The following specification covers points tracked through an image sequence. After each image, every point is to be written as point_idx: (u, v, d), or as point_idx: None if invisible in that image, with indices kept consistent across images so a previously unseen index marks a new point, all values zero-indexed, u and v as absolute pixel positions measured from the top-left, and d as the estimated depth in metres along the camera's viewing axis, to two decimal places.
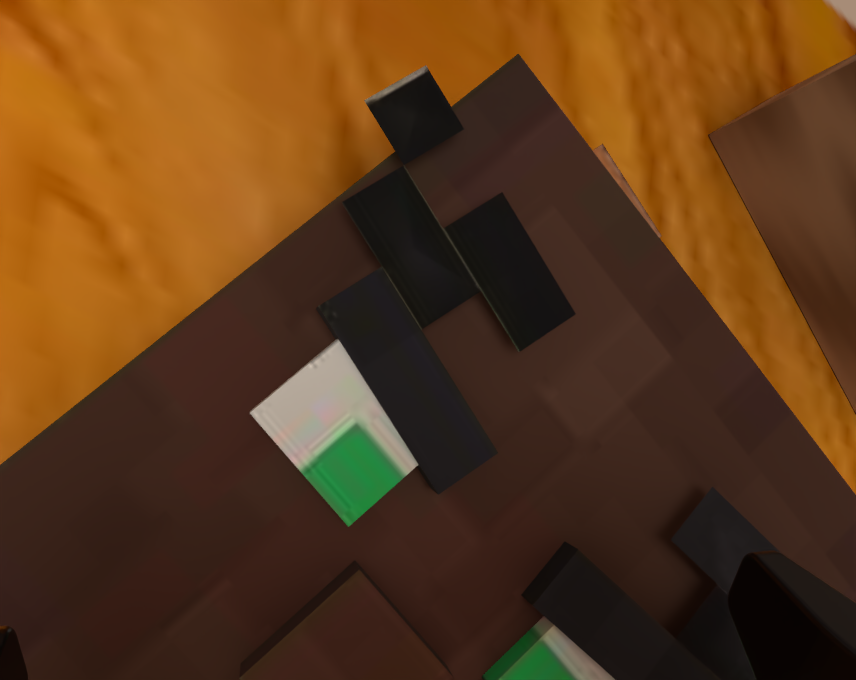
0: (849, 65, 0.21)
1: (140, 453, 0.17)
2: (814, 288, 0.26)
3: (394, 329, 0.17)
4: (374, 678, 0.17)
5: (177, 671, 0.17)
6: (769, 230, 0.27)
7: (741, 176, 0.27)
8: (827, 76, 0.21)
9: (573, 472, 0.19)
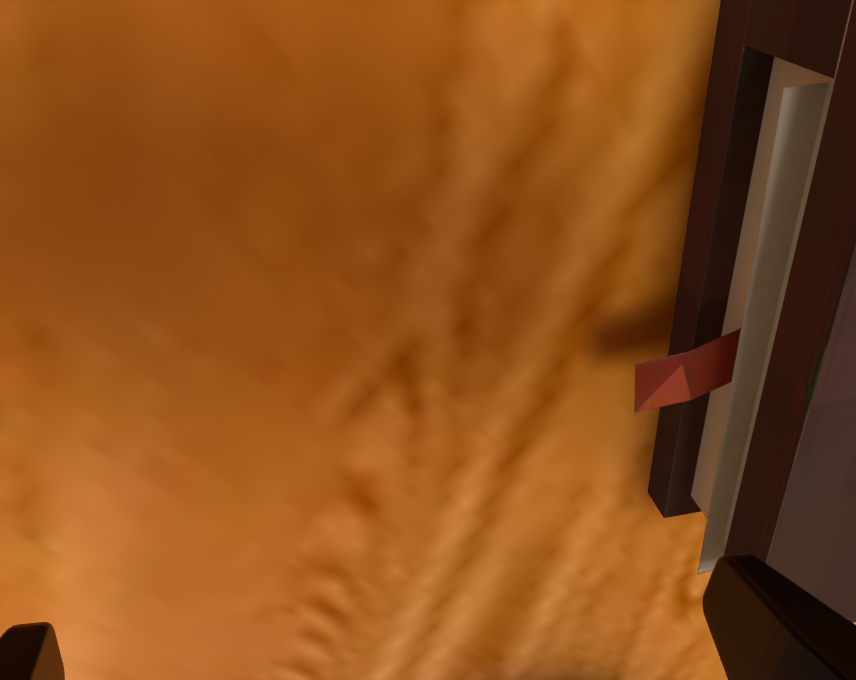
0: None
1: None
2: None
3: None
4: None
5: None
6: None
7: None
8: None
9: None
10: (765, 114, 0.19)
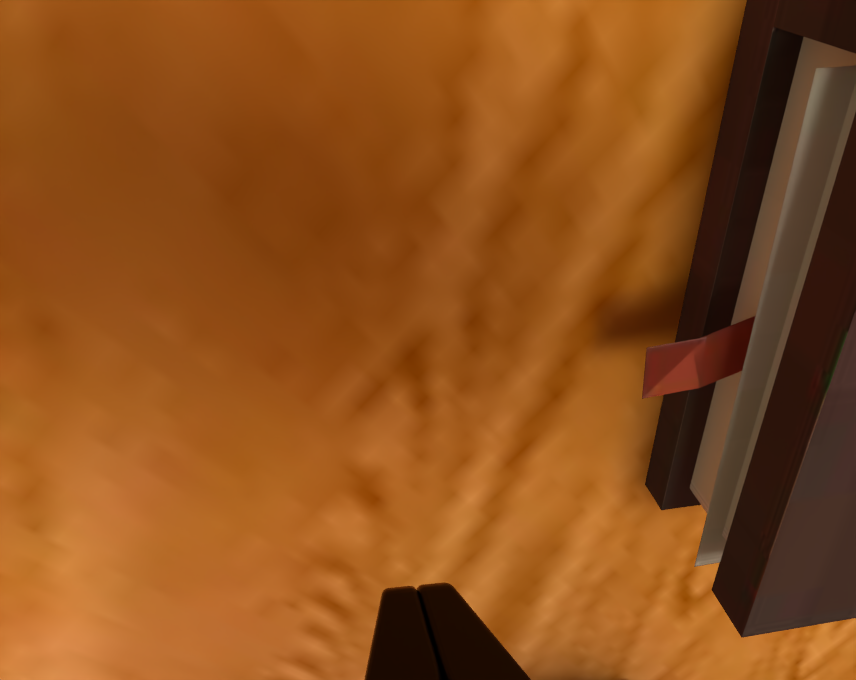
0: None
1: None
2: None
3: None
4: None
5: None
6: None
7: None
8: None
9: None
10: (789, 100, 0.19)
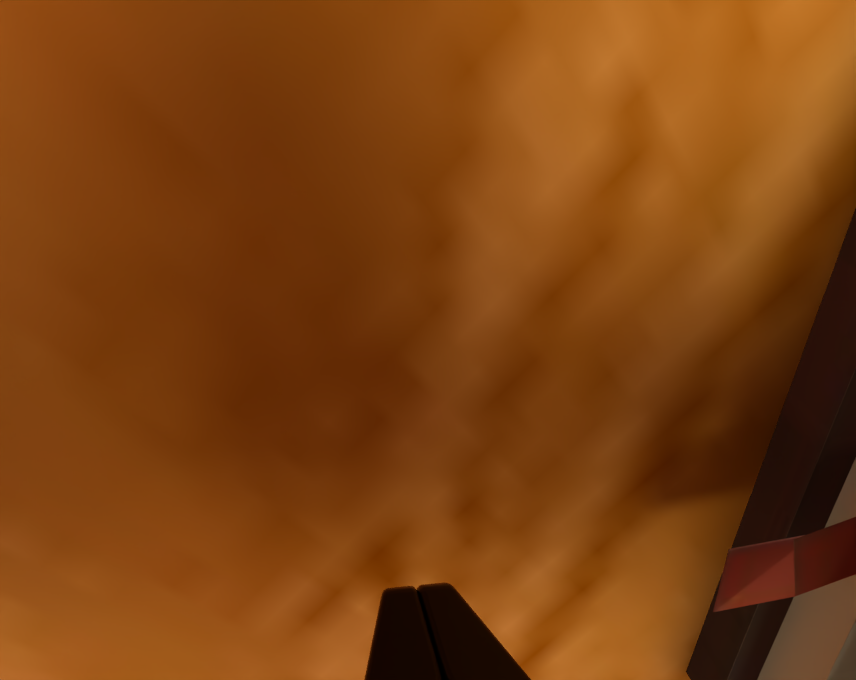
0: None
1: None
2: None
3: None
4: None
5: None
6: None
7: None
8: None
9: None
10: None
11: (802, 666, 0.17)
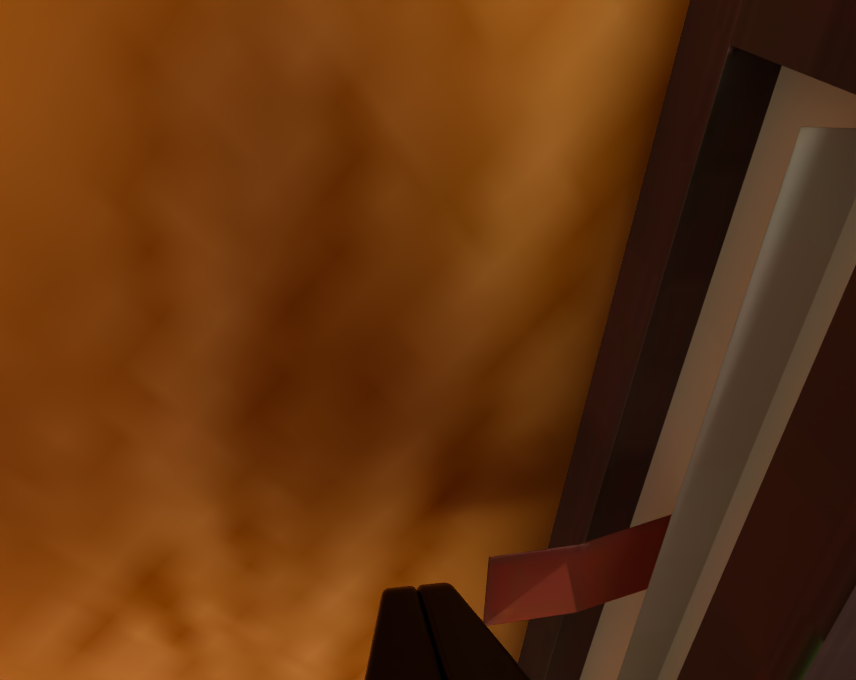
0: None
1: None
2: None
3: None
4: None
5: None
6: None
7: None
8: None
9: None
10: (748, 174, 0.11)
11: None
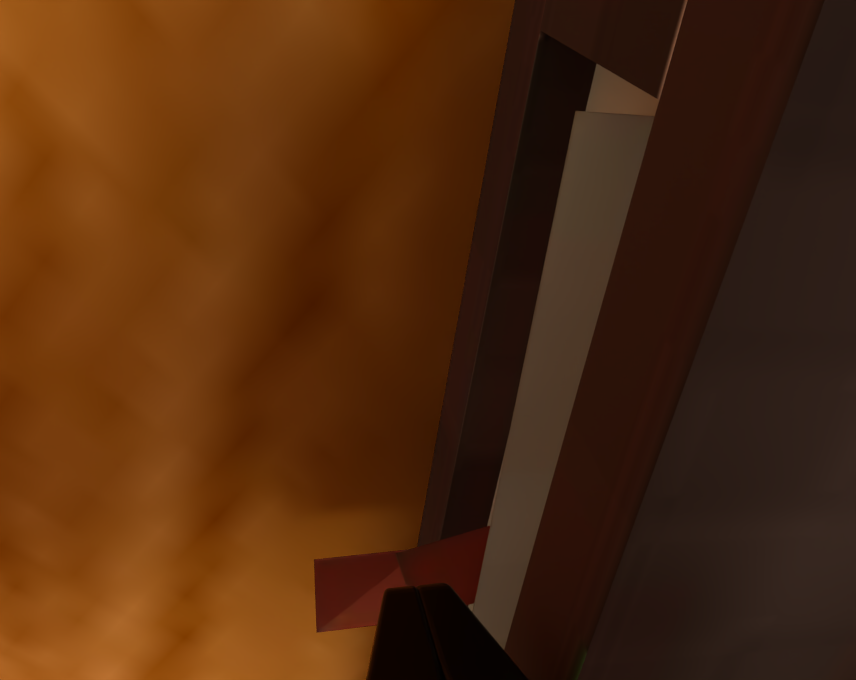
0: None
1: None
2: None
3: None
4: None
5: None
6: None
7: None
8: None
9: None
10: None
11: None
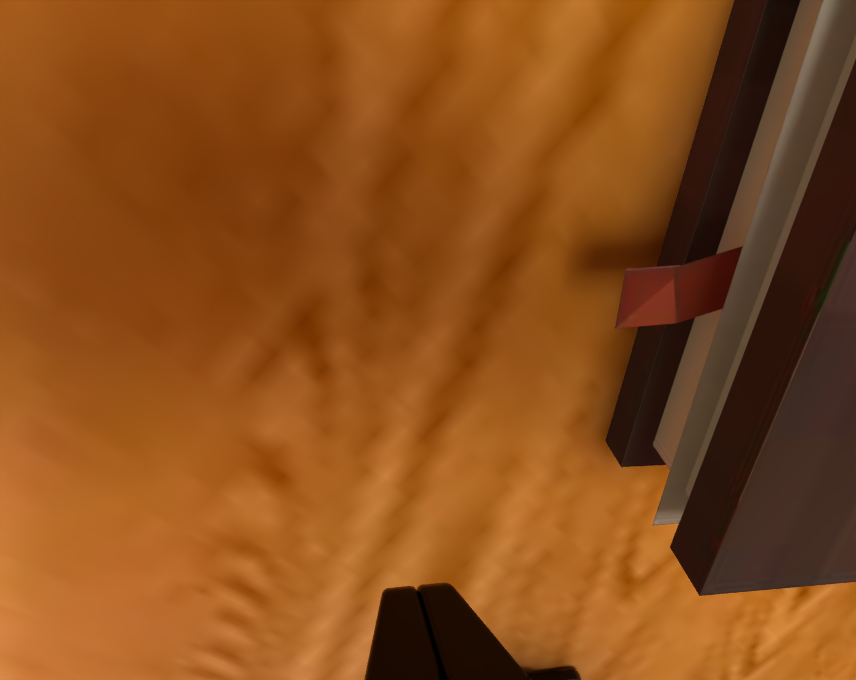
0: None
1: None
2: None
3: None
4: None
5: None
6: None
7: None
8: None
9: None
10: (799, 8, 0.17)
11: (686, 404, 0.22)
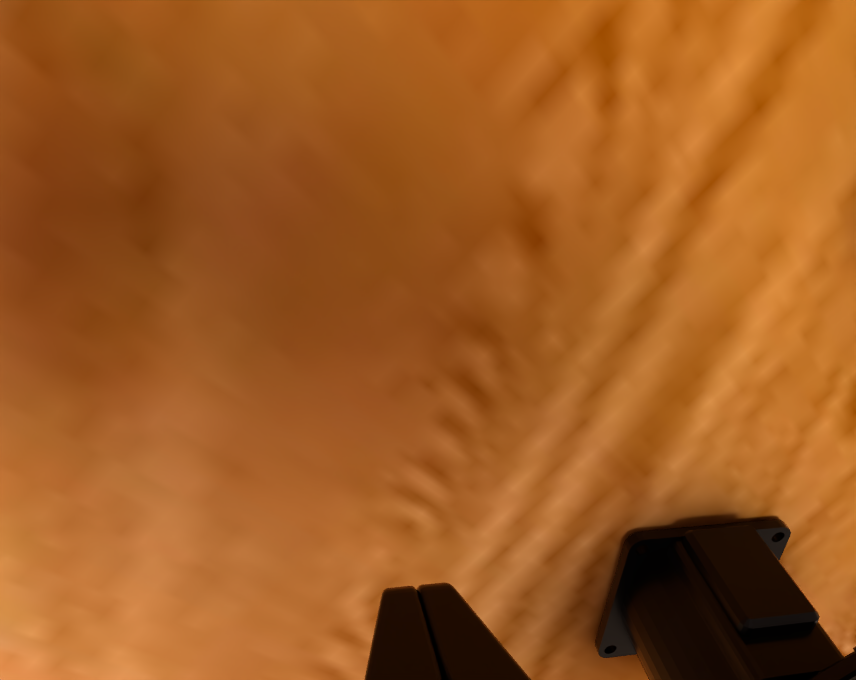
0: None
1: None
2: None
3: None
4: None
5: None
6: None
7: None
8: None
9: None
10: None
11: None
